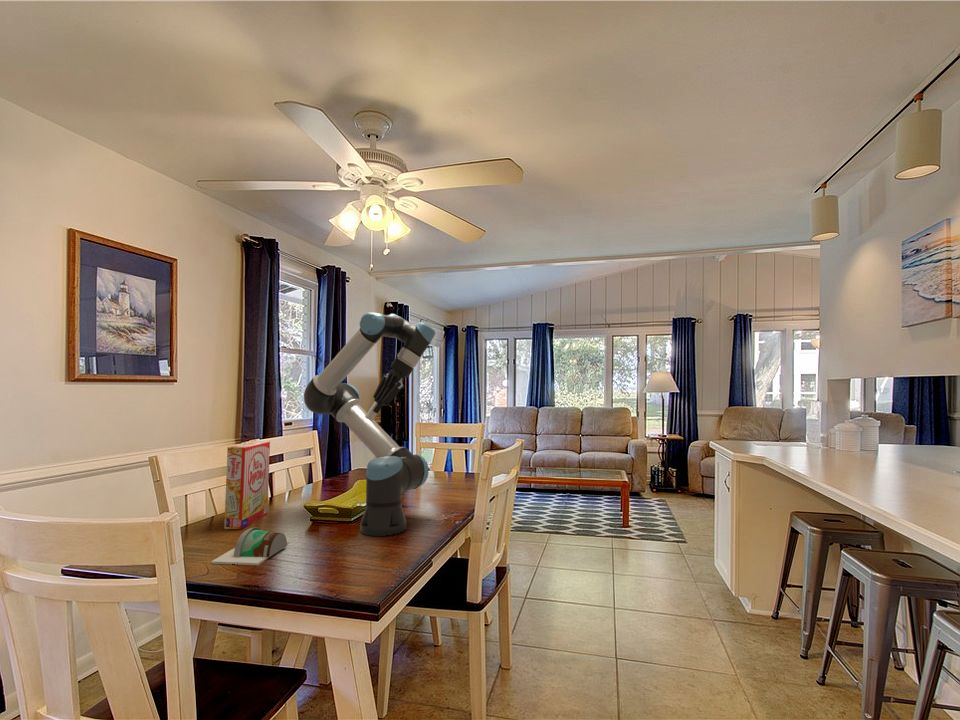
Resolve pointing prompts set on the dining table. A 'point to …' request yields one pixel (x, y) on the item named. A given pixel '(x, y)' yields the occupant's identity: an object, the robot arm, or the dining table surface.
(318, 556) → the dining table surface
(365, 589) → the dining table surface
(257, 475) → the board game box
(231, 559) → the mat
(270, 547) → the food container
